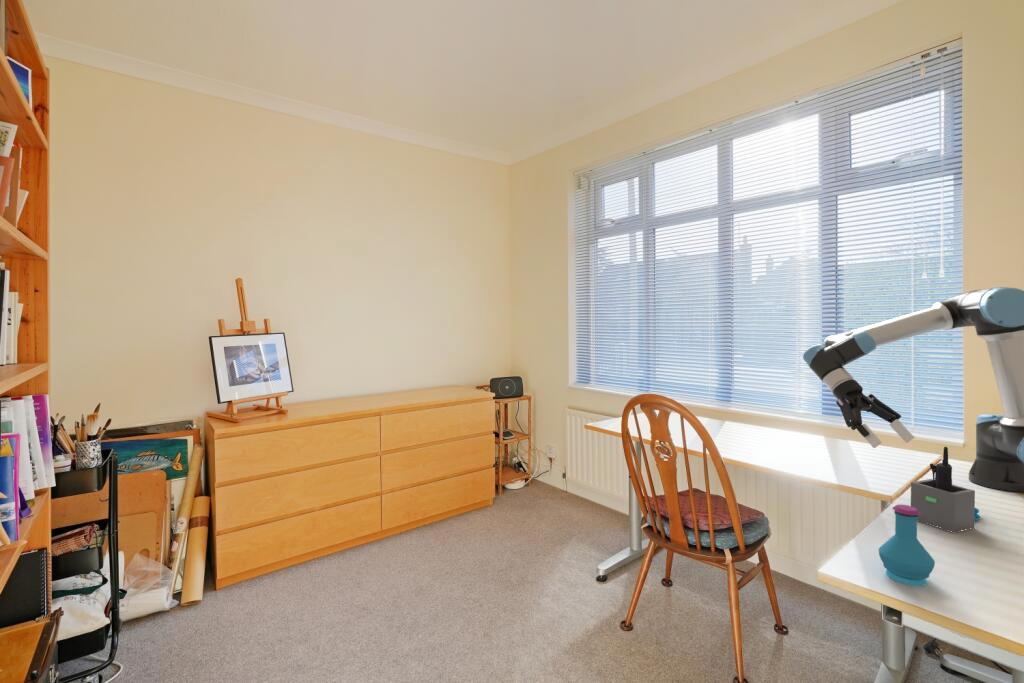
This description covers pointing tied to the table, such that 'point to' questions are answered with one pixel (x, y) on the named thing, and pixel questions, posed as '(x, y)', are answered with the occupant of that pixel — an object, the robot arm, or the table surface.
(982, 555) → the table surface
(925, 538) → the table surface
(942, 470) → the two-way radio
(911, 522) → the perfume bottle
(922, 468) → the table surface
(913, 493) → the charging dock
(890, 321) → the robot arm
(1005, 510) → the table surface
